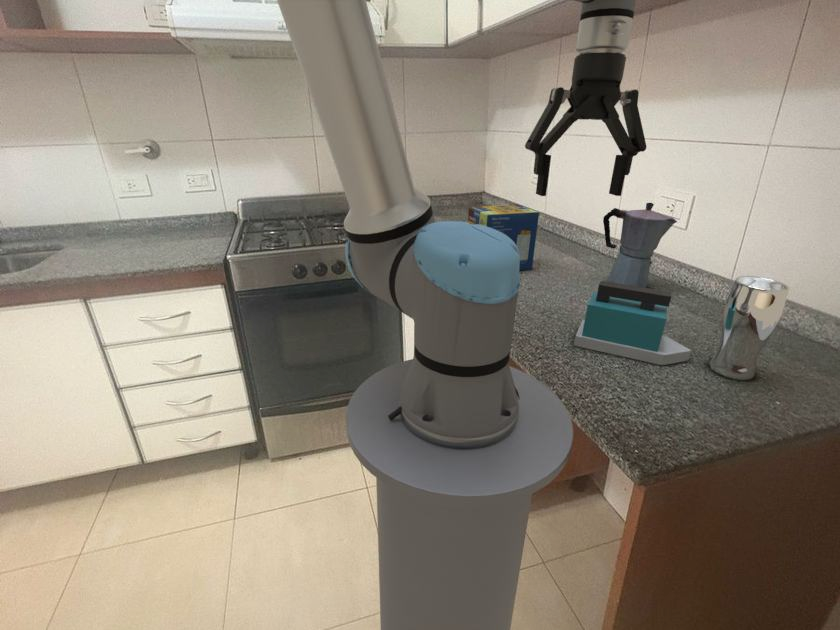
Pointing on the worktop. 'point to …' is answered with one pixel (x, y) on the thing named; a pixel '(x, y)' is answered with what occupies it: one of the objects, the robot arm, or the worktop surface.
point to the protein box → (510, 227)
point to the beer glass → (747, 325)
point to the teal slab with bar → (630, 324)
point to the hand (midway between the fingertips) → (578, 195)
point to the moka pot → (636, 243)
